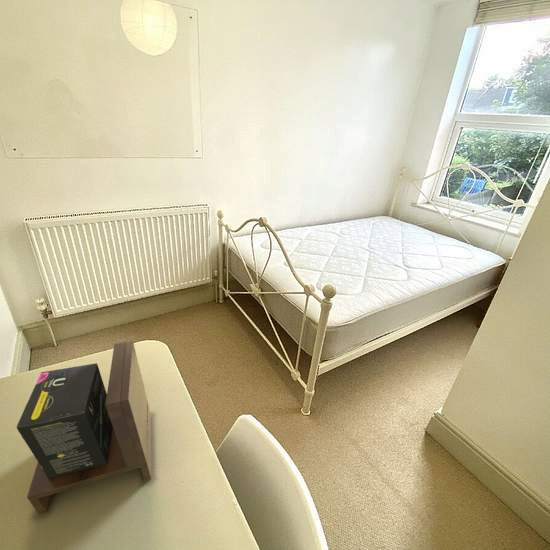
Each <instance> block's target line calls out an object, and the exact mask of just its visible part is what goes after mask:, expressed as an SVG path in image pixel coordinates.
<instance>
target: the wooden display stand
mask: <svg viewBox="0 0 550 550" xmlns="http://www.w3.org/2000/svg"><path fill="white" fill-rule="evenodd" d="M110 364H111V365H110V369H109V371H110V372H109V377H108V383H107V384H108V385H107V390H106V393H107V397H106V404H105V405H106V408H107V411H108V414H109V417H110V420H111V423H112V432H111V439H110V446H109V453H108V459H107V464H106V465H102V466H98V467H94V468H90V469H86V470H82V471H78V472H74V473H70V474H65V475H61V476H57V477H53V478H49V479H48V478H47V476H46V474H45V472H44V471H43V469H42V467H41V466H40V464H39V462H38V461H37V464H36V467H35V471H34V473H33V477H32V479H31V482H30V486H29V490H28V492H27V497H26V498H27V500H28V501H29V503H30V504H31V505H32V507H33V508H34V510H35V511H36V513H37V514H38V515H41V514H45V513H47V512H48V510H49V509H48V508H49V505H50V500H51V496H52V495H55V494H57V493H61V492H64V491H69V490H71V489H74V488H78V487H82V486H85V485H87V484H91V483H95V482H98V481H102V480H105V479H108V478H111V477H115V476H119V475H121V474H125V473H128V472H131V471H134V470H138V469H140V470H141V474H142V477H143V481H144V482H147V481H151V480H152V414H151V410H150V404H149V401H148V397H147V393H146V389H145V385H144V380H143V377H142V373H141V369H140V365H139V361H138V356H137V353H136V348H135V344H134V340H129V341H122V342H117V343H114V344H113V350H112V357H111V363H110Z"/></svg>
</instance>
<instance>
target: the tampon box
mask: <svg viewBox="0 0 550 550" xmlns="http://www.w3.org/2000/svg"><path fill="white" fill-rule="evenodd" d="M106 397H107V389H106V387H105V383H104V380H103V378H102V374H101V371H100V368H99V364H98V363H97V362H96V363H95V362H94V363H89V364H84V365H77V366H72V367H71V366H70V367H65V368H59V369H53V370H47V371H40V374H39V376H38V379H37V380H36V382H35V385H34V388H33V390H32V392H31V394H30V395H29V398H28V400H27V403H26V404H25V407H24V408H23V411H22V414H21V416H20V418H19V420H18V422H17V425H16V426H15V428H16V429H17V431H18V432H19V434H20V436H21V438H22V439H23V441H24V442H25V443H26V446H27V447H28V448H29V450H30V452H31V453H32V454H33V456H34V458H35V460H36V461H37V463H38V462H39V464H40V466H41V467H42V469H43V471H44V472H45V474H46V476H47V478H48V479H49V478H53V477H57V476H61V475H65V474H70V473H74V472H78V471H82V470H86V469H90V468H94V467H98V466H102V465H106V464H107V459H108V453H109V446H110V439H111V432H112V423H111V420H110V417H109V414H108V411H107V408H106V405H105V404H106Z"/></svg>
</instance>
